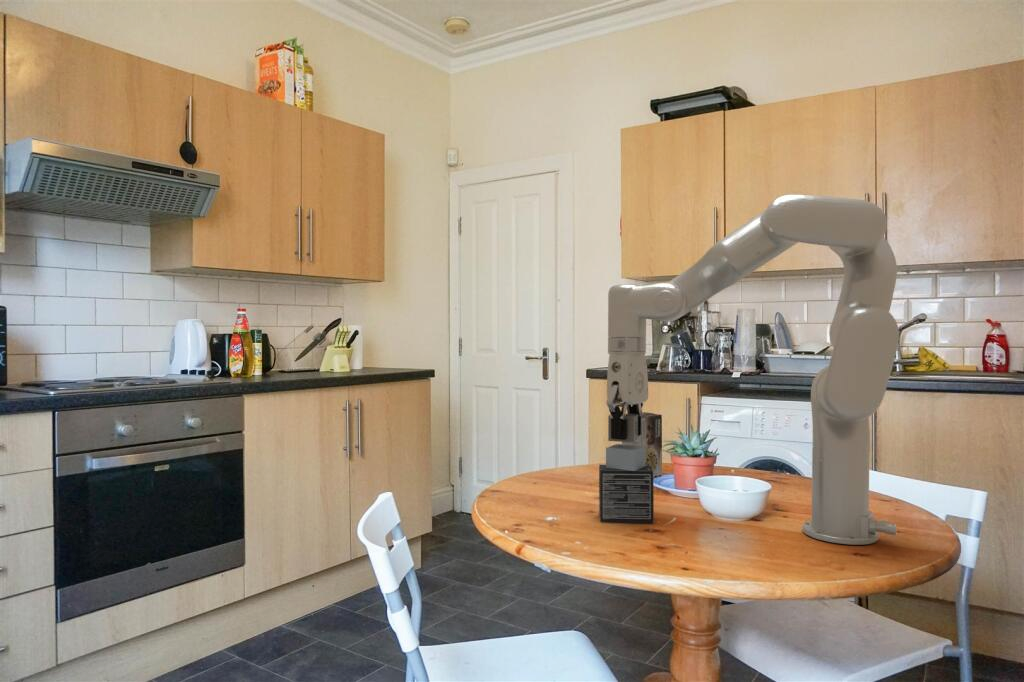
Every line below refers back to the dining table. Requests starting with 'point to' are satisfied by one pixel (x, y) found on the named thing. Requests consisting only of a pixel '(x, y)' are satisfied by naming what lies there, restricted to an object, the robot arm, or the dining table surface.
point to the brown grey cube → (631, 428)
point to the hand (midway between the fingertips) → (626, 436)
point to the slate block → (626, 457)
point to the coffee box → (651, 440)
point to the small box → (626, 495)
